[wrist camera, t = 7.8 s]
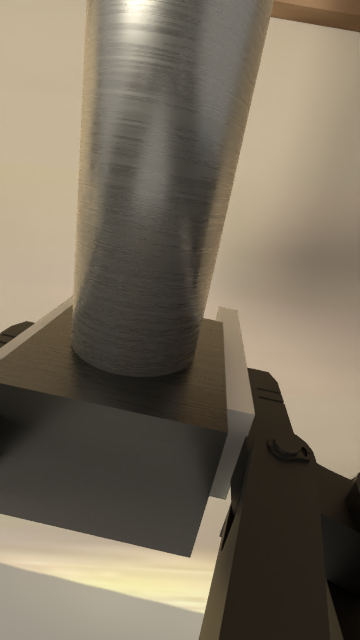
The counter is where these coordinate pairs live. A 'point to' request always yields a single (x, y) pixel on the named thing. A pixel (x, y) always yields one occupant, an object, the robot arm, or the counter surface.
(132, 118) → the shaft
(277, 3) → the stand
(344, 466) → the counter surface
